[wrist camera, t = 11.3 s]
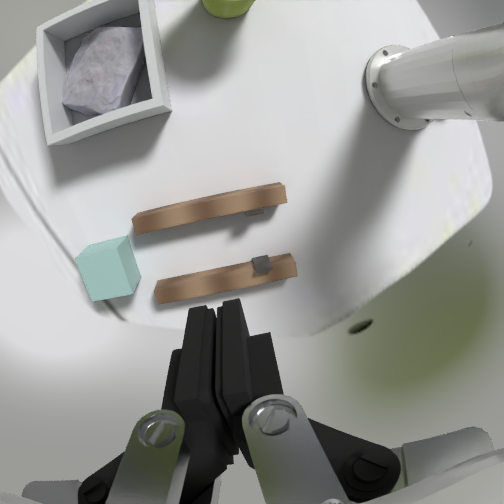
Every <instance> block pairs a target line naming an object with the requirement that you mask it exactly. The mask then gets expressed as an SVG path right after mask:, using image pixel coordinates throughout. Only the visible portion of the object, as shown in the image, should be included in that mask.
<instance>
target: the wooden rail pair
mask: <svg viewBox="0 0 504 504" xmlns="http://www.w3.org/2000/svg"><path fill="white" fill-rule="evenodd" d="M284 203H287V198H286V191H285V186H284V185H283V184H281V183H280V182H279V183H273V184H268V185H262V186H257V187H252V188H247V189H241V190H236V191H231V192H227V193H222V194H217V195H212V196H208V197H203V198H198V199H194V200H189V201H185V202H181V203H176V204H172V205H168V206H164V207H160V208H156V209H151V210H147V211H143V212H140V213H137V214H136V215H135V216H134V217H133V218H132V223H133V226H134V230H135V233H136V235H139V234H143V233H147V232H151V231H155V230H160V229H164V228H168V227H173V226H177V225H182V224H186V223H191V222H195V221H200V220H204V219H209V218H214V217H218V216H223V215H228V214H233V213H238V212H243V211H244V213H245V215H246V216H251V215H256V214H261V213H264V212H263V209H262V208H263V207H268V206H273V205H278V204H284ZM252 259H253V261H250V262H245V263H241V264H236V265H231V266H226V267H221V268H217V269H212V270H207V271H202V272H197V273H192V274H187V275H182V276H177V277H173V278H168V279H163V280H158V282H157V284H156V287H155V290H154V292H155V295H156V298H157V301H158V303H159V304H164V303H169V302H174V301H180V300H185V299H190V298H195V297H200V296H205V295H210V294H215V293H220V292H225V291H230V290H235V289H240V288H245V287H249V286H254V285H259V284H264V283H268V282H273V281H277V280H282V279H287V278H291V277H296V276H297V270H296V262H295V260H294V259H293V257H292V256H291V254H290V253H288V254H283V255H279V256H274V257H269V258H268V255H265V256H260V257H256V258H252Z"/></svg>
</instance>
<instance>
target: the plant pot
mask: <svg viewBox="0 0 504 504" xmlns="http://www.w3.org/2000/svg"><path fill="white" fill-rule="evenodd" d="M254 1H255V0H202V3H203V5H204V7H205V9H206V10H207V11H208V12H209V13H210V14H212V15H214V16H216V17H220V18H231V17H238V16H240V15H242V14H244V13H245V12H246V11H248V9H249V8H250V7H251V5H252V4H253V2H254Z"/></svg>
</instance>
